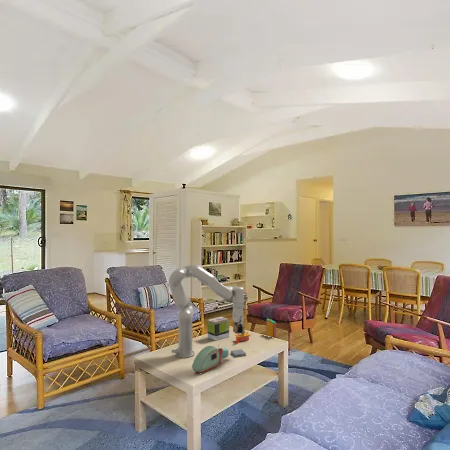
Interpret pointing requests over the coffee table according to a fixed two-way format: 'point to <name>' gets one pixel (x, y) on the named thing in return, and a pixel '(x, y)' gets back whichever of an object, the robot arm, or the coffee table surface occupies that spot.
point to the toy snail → (207, 359)
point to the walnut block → (235, 328)
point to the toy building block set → (269, 331)
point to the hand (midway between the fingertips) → (238, 330)
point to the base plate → (238, 353)
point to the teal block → (224, 352)
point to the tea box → (218, 328)
